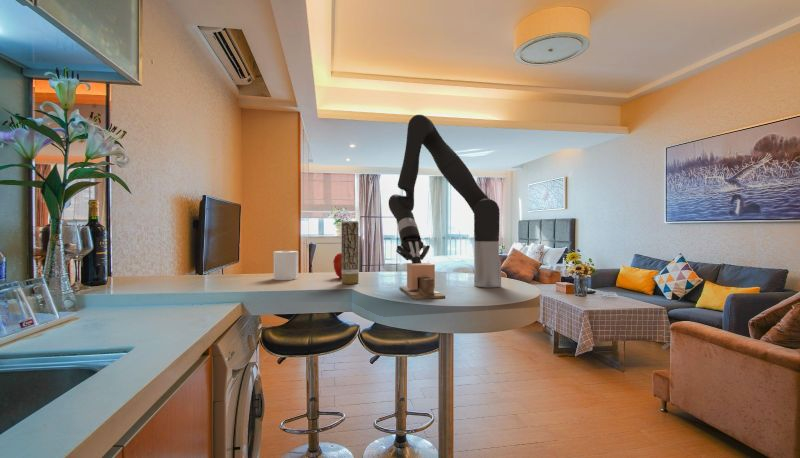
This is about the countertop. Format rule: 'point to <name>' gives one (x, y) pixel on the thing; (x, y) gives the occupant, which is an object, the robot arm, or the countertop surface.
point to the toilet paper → (285, 265)
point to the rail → (423, 289)
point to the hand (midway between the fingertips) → (418, 267)
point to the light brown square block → (419, 273)
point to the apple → (338, 264)
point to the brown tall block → (350, 252)
